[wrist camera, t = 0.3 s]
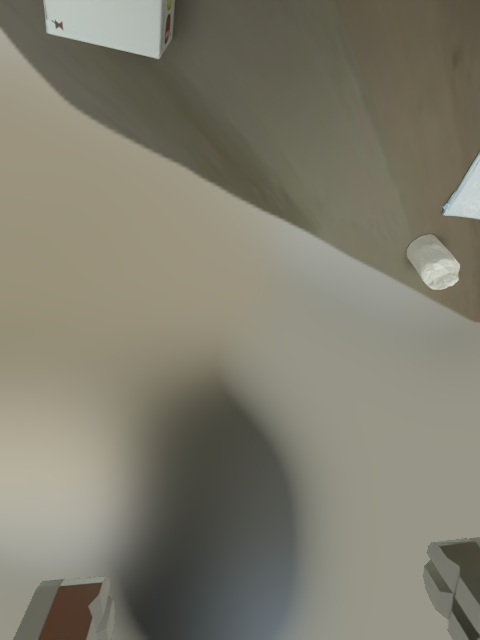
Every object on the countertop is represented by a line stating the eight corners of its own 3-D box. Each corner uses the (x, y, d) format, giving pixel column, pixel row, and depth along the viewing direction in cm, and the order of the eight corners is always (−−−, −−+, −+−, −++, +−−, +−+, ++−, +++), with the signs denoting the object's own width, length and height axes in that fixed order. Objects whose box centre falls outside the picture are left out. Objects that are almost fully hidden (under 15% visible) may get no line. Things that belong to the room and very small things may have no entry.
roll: (450, 305, 60) (427, 296, 58) (420, 264, 69) (398, 255, 67) (480, 279, 57) (456, 268, 55) (444, 239, 65) (421, 228, 63)
